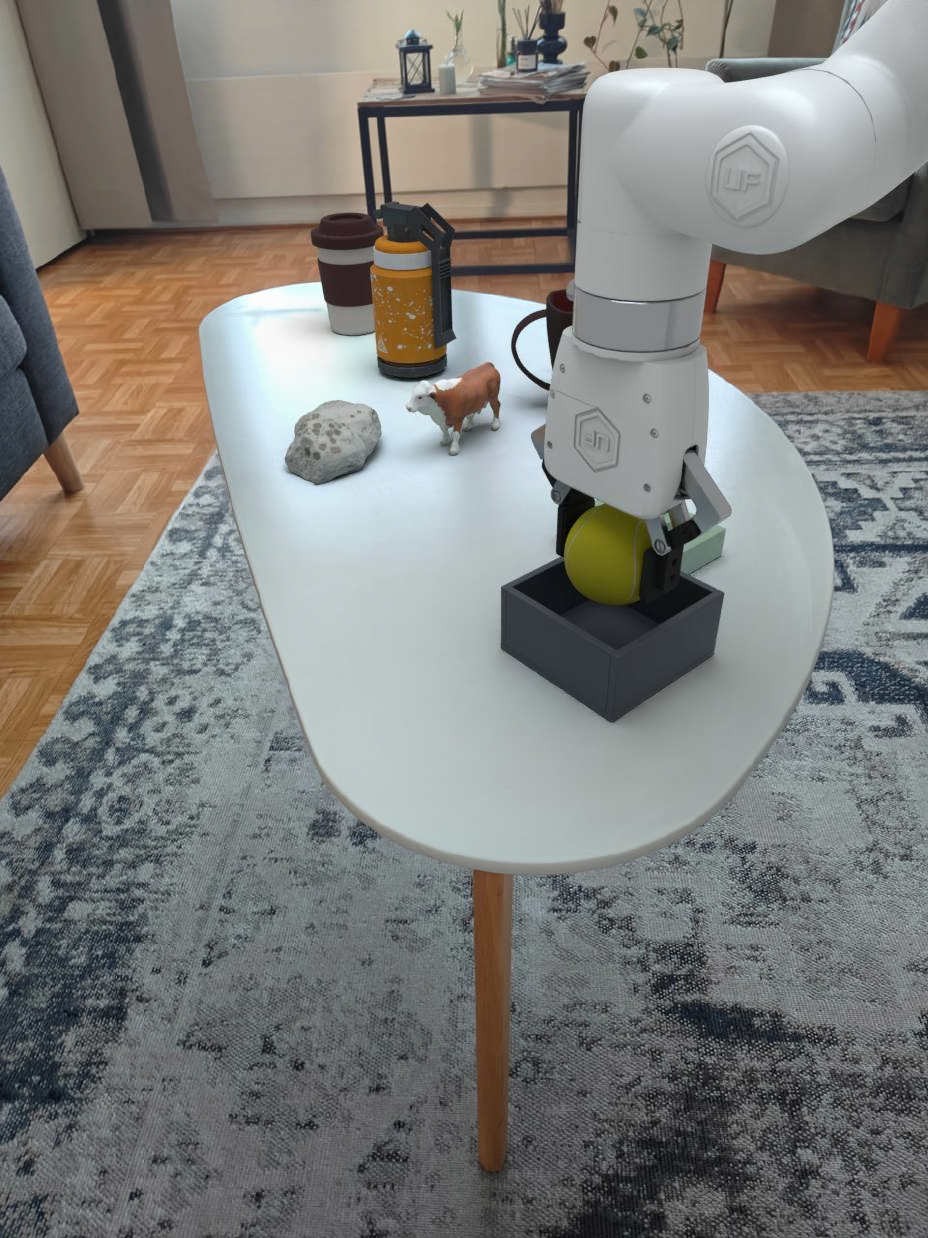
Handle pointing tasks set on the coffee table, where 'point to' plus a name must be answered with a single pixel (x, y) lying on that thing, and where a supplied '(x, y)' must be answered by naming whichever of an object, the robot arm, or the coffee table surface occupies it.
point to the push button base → (698, 546)
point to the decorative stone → (333, 440)
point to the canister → (412, 291)
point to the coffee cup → (347, 269)
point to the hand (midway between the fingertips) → (614, 569)
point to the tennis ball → (607, 555)
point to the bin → (607, 637)
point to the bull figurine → (458, 401)
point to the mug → (557, 322)
